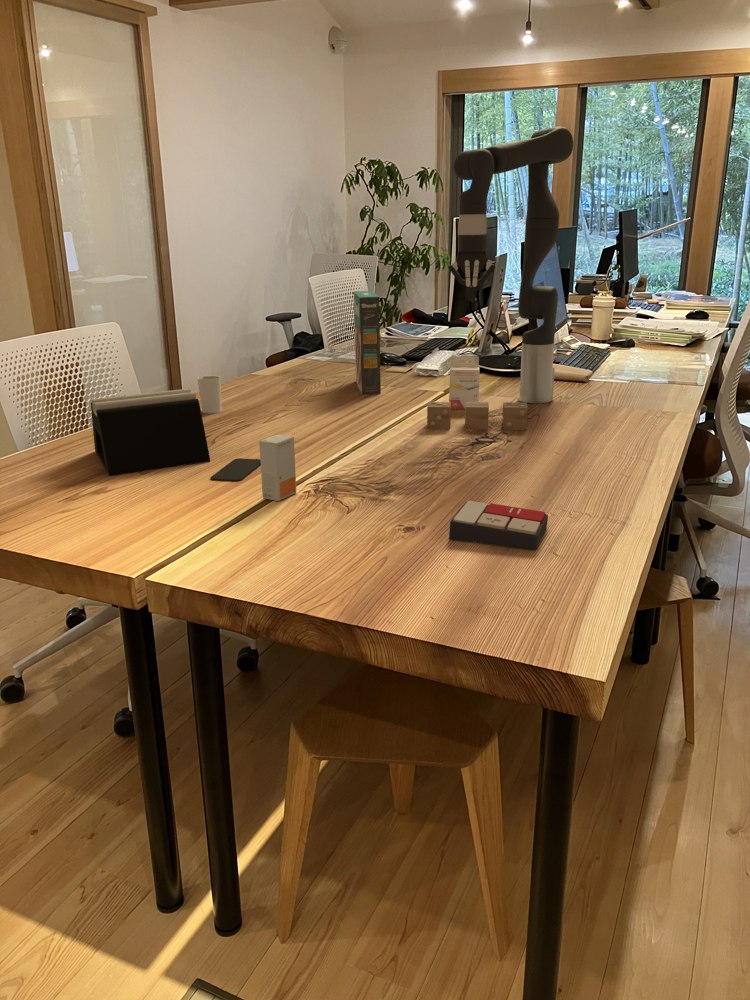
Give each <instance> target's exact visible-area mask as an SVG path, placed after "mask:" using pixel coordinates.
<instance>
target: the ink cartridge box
mask: <svg viewBox="0 0 750 1000" xmlns="http://www.w3.org/2000/svg"><path fill="white" fill-rule="evenodd" d="M464 360H465V362H463V361H464ZM466 361H467V362H466ZM479 361H480V357H479V356H477V355H476V356H473V355H472V356H471V355H464V356H463V355H457V356H456V355H455V356H454V355H452V356H451V357H450V368H449V390H448V392H449V394H448V396H449V397H448V402H451V410H465V406H466V402H480V401H479V399H480V397H479V395H480V375H481V374H480V372H481V371H480V365H479V364H480V363H479Z"/></svg>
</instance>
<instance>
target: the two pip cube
mask: <svg viewBox="0 0 750 1000" xmlns="http://www.w3.org/2000/svg"><path fill="white" fill-rule="evenodd" d="M528 408H529V407H528V403H526V402H522V401H520V402H517V401H515V402H514V401H513V402H510V401H507V402H503V403H502V430H503V431H508V430H509V431H527V430H528V429H527V428H528V411H529V410H528Z"/></svg>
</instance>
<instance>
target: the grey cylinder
mask: <svg viewBox="0 0 750 1000" xmlns="http://www.w3.org/2000/svg"><path fill="white" fill-rule="evenodd" d="M221 381H222V380H221V375H209V374H208V375H202V376H197V385H198V391H199V392H198V393H199V399H200V409H201V413H202V414H209V415H210V414H218V413H221V412H223V407H222V384H221V383H222V382H221Z"/></svg>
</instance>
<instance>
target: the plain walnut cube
mask: <svg viewBox="0 0 750 1000" xmlns="http://www.w3.org/2000/svg"><path fill="white" fill-rule="evenodd" d="M464 411H465V412H464V413H465V415H464V419H465V420H464V422H465V423H464V429H465V430H481V431H482V430H489V415H490V414H489V413H490V405H489V402H488V401H485V402H484V401H479V402H466V406H465V409H464Z"/></svg>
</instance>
